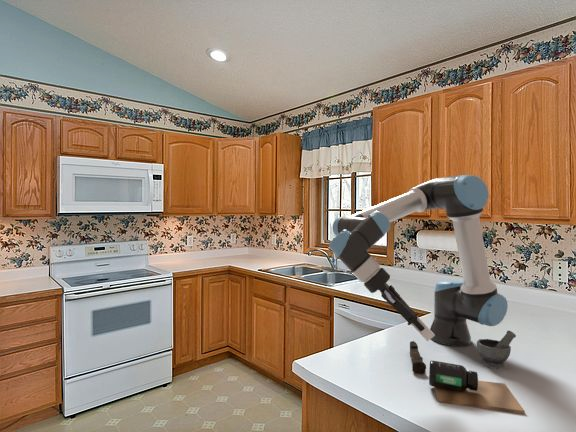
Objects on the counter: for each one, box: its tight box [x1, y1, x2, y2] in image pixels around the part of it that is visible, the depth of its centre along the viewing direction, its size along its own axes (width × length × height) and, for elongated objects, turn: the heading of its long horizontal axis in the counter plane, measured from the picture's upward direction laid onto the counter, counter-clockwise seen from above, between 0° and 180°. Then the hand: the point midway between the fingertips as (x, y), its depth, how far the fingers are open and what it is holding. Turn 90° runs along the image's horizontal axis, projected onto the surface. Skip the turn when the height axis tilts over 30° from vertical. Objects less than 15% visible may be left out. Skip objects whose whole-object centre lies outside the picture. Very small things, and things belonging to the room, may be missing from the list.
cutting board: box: [433, 379, 526, 415], centre depth 100 cm, size 20×15×1 cm
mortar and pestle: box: [476, 330, 517, 370], centre depth 120 cm, size 11×9×12 cm
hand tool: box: [409, 340, 427, 375], centre depth 121 cm, size 19×4×5 cm, turn 165°
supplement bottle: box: [428, 360, 479, 392], centre depth 101 cm, size 7×7×12 cm
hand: (430, 337), depth 103 cm, fingers closed
